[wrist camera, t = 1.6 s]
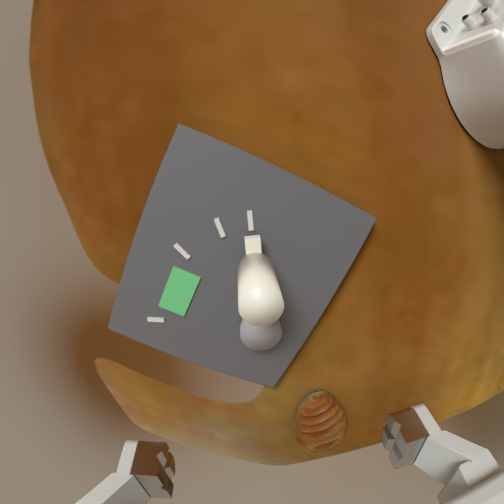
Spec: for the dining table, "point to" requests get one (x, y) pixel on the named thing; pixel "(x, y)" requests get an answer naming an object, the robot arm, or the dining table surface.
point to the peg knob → (258, 298)
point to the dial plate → (231, 255)
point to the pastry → (319, 421)
